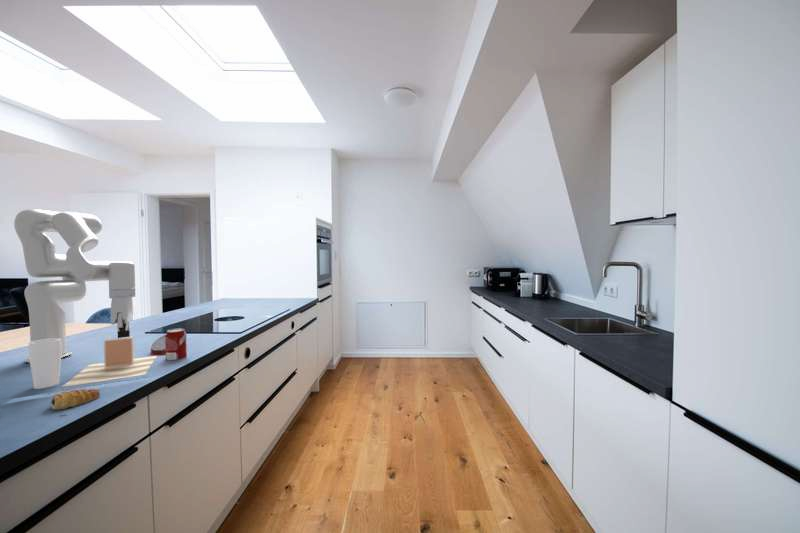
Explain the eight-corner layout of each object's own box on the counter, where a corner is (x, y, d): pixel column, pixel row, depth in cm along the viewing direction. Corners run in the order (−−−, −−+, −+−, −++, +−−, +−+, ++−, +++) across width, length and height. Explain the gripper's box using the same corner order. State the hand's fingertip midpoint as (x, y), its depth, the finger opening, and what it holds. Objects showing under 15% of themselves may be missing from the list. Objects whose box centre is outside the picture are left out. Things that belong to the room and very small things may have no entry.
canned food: (179, 363, 132) (185, 344, 130) (150, 366, 125) (155, 347, 122) (175, 346, 139) (180, 328, 137) (146, 349, 132) (151, 330, 129)
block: (106, 366, 112) (105, 339, 112) (134, 362, 116) (133, 336, 116) (104, 368, 110) (103, 340, 110) (133, 364, 115) (132, 337, 114)
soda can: (175, 363, 118) (175, 332, 118) (161, 362, 119) (160, 331, 119) (191, 357, 125) (190, 328, 124) (177, 356, 126) (176, 327, 126)
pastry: (95, 394, 92) (95, 381, 92) (103, 399, 88) (102, 386, 88) (48, 406, 84) (48, 393, 84) (54, 413, 80) (54, 399, 80)
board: (89, 367, 114) (89, 364, 114) (157, 358, 125) (157, 355, 124) (61, 390, 94) (61, 387, 94) (145, 377, 104) (145, 374, 104)
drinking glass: (32, 394, 91) (30, 344, 91) (27, 389, 95) (26, 341, 94) (65, 386, 97) (64, 339, 96) (60, 382, 100) (58, 336, 100)
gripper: (115, 292, 123) (116, 338, 123) (103, 296, 110) (104, 346, 110) (139, 291, 126) (140, 335, 127) (130, 294, 114) (132, 343, 114)
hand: (123, 340), depth 119 cm, fingers closed
